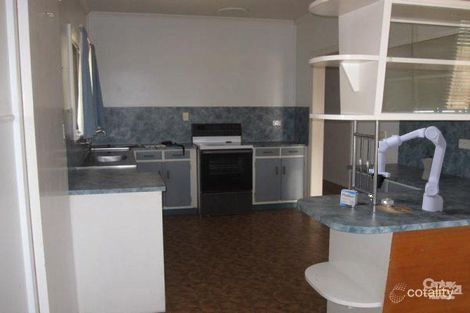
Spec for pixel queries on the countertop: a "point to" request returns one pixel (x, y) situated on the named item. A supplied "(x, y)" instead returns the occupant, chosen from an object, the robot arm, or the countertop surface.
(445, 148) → the robot arm
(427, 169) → the coffeepot
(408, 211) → the turntable
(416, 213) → the countertop surface
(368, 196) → the dial gauge
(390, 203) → the metal cover
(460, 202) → the countertop surface
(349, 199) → the medicine box
